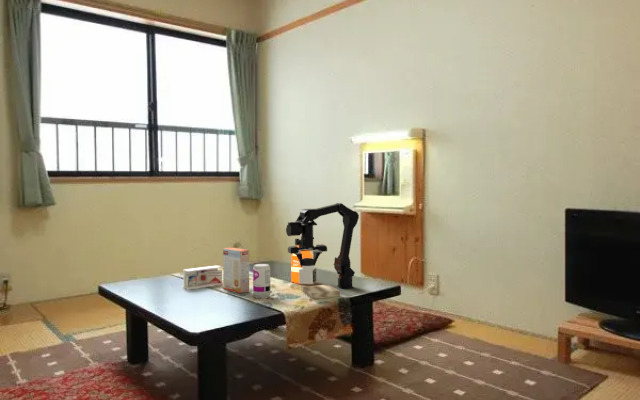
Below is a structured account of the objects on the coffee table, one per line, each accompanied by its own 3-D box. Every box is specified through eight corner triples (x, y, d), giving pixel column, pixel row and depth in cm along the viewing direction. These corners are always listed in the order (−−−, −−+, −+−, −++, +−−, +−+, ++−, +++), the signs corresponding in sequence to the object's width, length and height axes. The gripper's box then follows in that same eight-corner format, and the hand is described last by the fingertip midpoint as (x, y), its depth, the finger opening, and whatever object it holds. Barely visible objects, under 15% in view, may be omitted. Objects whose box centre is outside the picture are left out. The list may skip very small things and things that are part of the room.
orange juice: (312, 281, 268) (312, 244, 267) (303, 284, 260) (303, 246, 259) (300, 279, 272) (300, 243, 271) (291, 282, 265) (291, 245, 264)
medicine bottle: (313, 284, 238) (312, 259, 238) (298, 283, 240) (298, 259, 239) (316, 281, 245) (316, 257, 245) (302, 280, 247) (302, 256, 246)
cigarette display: (187, 289, 248) (187, 271, 247) (183, 287, 252) (183, 269, 252) (223, 284, 260) (223, 266, 260) (218, 282, 265) (218, 265, 264)
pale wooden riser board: (328, 289, 248) (328, 284, 248) (339, 296, 235) (339, 290, 235) (302, 291, 243) (302, 286, 243) (312, 298, 230) (312, 293, 230)
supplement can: (256, 299, 228) (256, 267, 228) (250, 295, 236) (250, 264, 235) (273, 297, 232) (272, 265, 231) (266, 293, 239) (266, 262, 239)
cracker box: (250, 291, 243) (249, 249, 242) (240, 293, 239) (240, 250, 238) (232, 287, 253) (232, 246, 252) (222, 289, 248) (222, 247, 247)
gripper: (319, 232, 252) (320, 262, 253) (284, 233, 246) (284, 264, 247) (327, 234, 242) (327, 266, 242) (290, 236, 235) (291, 268, 236)
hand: (307, 266), depth 242 cm, fingers closed on medicine bottle, 6 cm apart
